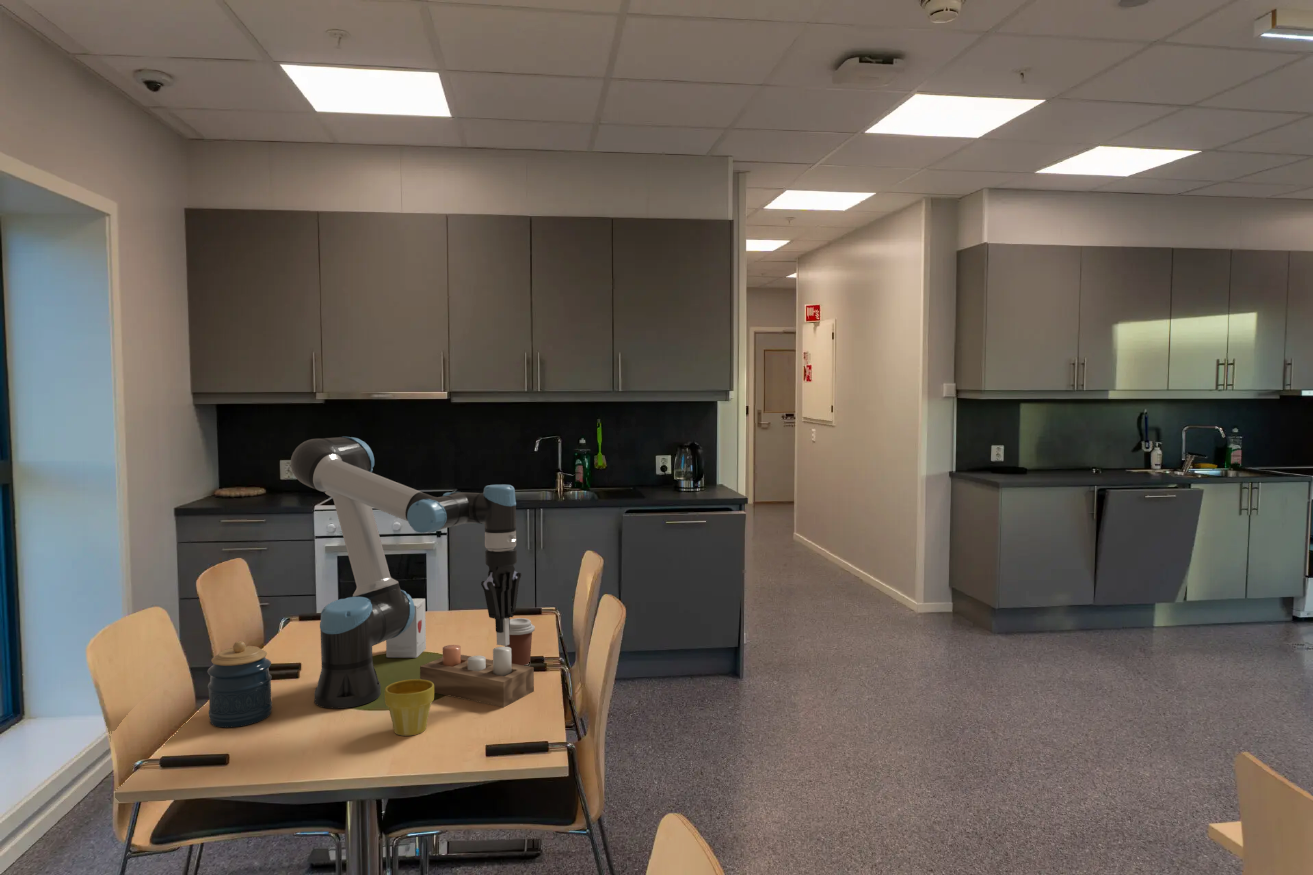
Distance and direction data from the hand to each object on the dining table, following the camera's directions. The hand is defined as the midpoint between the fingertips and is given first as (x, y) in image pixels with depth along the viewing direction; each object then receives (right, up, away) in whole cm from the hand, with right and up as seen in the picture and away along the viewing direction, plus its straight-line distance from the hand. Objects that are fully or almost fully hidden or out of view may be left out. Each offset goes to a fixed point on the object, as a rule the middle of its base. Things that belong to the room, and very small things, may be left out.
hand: (503, 644), depth 199 cm
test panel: (-7, -13, +4) cm, 15 cm away
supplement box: (-34, -12, +35) cm, 50 cm away
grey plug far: (0, -8, 0) cm, 8 cm away
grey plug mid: (-7, -12, +4) cm, 14 cm away
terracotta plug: (-15, -10, +8) cm, 19 cm away
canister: (-58, -14, -13) cm, 61 cm away
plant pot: (-17, -14, -20) cm, 30 cm away
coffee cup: (0, -12, +24) cm, 27 cm away
